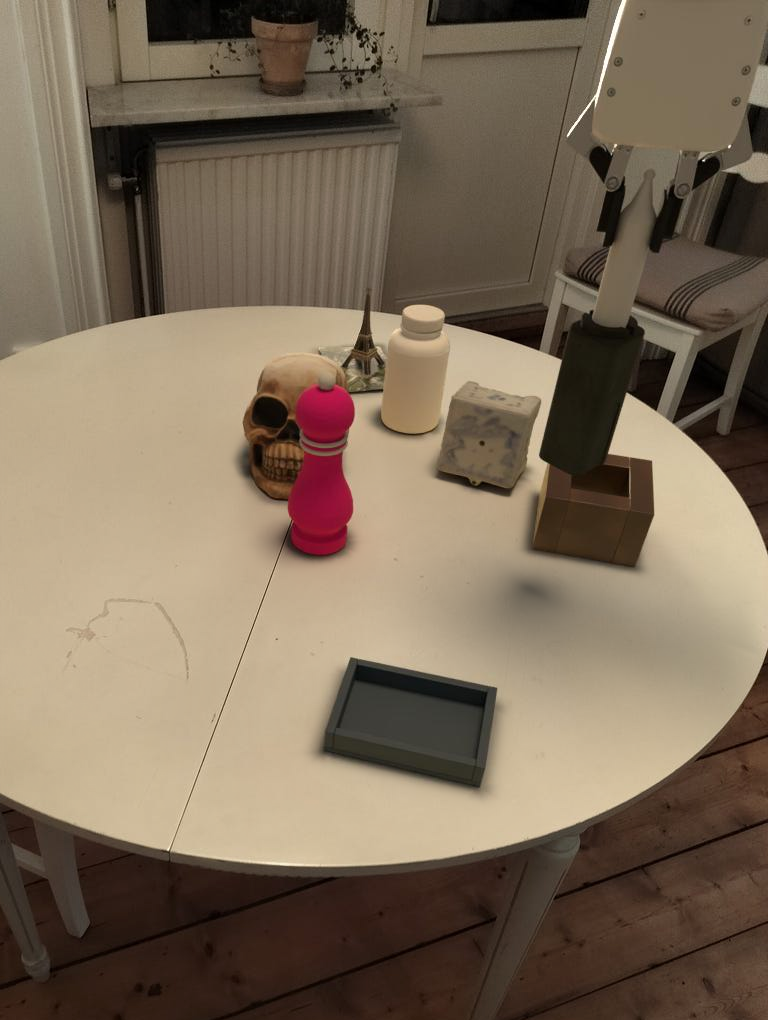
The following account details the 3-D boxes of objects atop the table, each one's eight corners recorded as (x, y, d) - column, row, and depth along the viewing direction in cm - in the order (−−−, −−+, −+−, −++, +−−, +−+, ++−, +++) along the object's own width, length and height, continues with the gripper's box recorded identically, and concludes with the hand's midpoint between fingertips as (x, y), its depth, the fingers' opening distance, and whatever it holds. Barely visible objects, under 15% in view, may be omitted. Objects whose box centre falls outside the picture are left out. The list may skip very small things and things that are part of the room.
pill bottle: (448, 416, 119) (465, 308, 108) (423, 441, 114) (438, 330, 103) (396, 401, 122) (408, 295, 111) (370, 425, 117) (379, 315, 106)
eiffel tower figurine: (316, 350, 133) (320, 261, 124) (379, 346, 135) (388, 258, 126) (336, 395, 123) (341, 302, 114) (405, 391, 124) (415, 298, 115)
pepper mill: (278, 527, 99) (279, 362, 85) (335, 515, 101) (346, 352, 87) (300, 564, 94) (306, 395, 80) (361, 550, 96) (376, 383, 82)
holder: (634, 511, 102) (652, 460, 98) (635, 567, 95) (654, 514, 90) (539, 495, 105) (552, 444, 100) (531, 548, 97) (545, 496, 92)
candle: (577, 479, 79) (661, 183, 62) (533, 455, 82) (602, 166, 65) (610, 460, 81) (700, 170, 64) (567, 438, 84) (641, 155, 67)
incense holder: (527, 465, 110) (545, 389, 103) (510, 498, 104) (528, 420, 97) (454, 447, 113) (466, 372, 106) (433, 477, 107) (445, 401, 100)
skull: (276, 505, 102) (274, 395, 94) (216, 451, 114) (210, 350, 106) (387, 477, 108) (394, 372, 100) (318, 429, 120) (320, 332, 112)
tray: (492, 706, 79) (497, 687, 77) (480, 787, 72) (485, 768, 71) (348, 675, 82) (350, 656, 80) (323, 750, 75) (324, 731, 73)
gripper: (838, -52, 57) (736, 241, 69) (584, -62, 60) (530, 219, 73) (858, -41, 51) (743, 273, 64) (578, -53, 55) (521, 248, 67)
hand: (630, 242), depth 68 cm, fingers closed on candle, 3 cm apart
